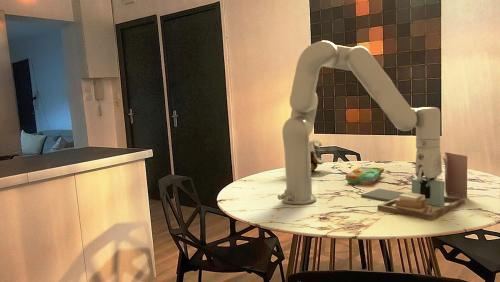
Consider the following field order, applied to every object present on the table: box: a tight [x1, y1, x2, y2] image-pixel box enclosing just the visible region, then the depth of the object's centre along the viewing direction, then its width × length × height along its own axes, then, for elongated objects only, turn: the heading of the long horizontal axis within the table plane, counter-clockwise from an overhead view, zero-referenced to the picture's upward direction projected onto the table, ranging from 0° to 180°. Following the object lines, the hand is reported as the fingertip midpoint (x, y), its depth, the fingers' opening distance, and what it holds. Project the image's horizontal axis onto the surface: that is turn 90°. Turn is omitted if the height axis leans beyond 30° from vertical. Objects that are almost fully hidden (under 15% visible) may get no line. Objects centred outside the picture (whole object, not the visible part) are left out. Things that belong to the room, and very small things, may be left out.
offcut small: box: [399, 191, 425, 203], centre depth 134 cm, size 5×6×2 cm
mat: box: [360, 188, 406, 202], centre depth 155 cm, size 12×12×1 cm
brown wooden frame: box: [377, 191, 466, 221], centre depth 139 cm, size 24×18×2 cm
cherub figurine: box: [309, 139, 333, 178], centre depth 202 cm, size 18×18×18 cm
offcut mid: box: [396, 198, 428, 210], centre depth 134 cm, size 6×8×2 cm
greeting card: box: [442, 151, 468, 199], centre depth 150 cm, size 11×7×15 cm, turn 159°
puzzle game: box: [345, 166, 385, 186], centre depth 184 cm, size 12×5×20 cm
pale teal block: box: [411, 177, 445, 207], centre depth 142 cm, size 3×10×8 cm, turn 41°
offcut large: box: [391, 204, 432, 214], centre depth 135 cm, size 7×10×2 cm
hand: (427, 196), depth 142 cm, fingers closed on pale teal block, 3 cm apart
